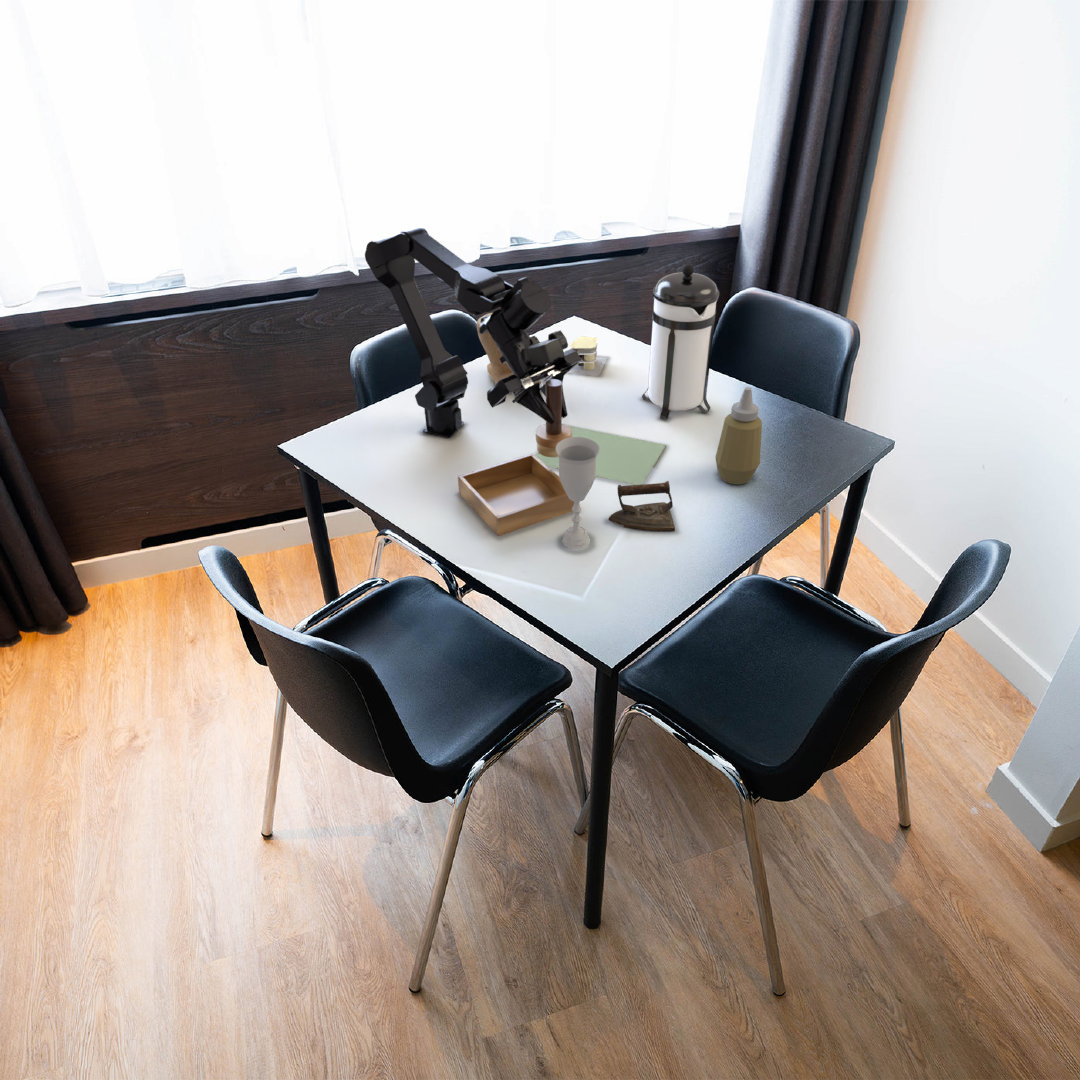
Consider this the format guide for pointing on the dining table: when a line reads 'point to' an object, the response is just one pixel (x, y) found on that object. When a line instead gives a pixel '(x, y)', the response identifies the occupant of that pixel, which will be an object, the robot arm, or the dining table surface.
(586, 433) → the mat
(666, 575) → the dining table surface
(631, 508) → the clothes iron
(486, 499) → the tray
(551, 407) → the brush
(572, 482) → the chalice
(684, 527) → the dining table surface
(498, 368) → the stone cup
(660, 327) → the coffee press
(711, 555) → the dining table surface
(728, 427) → the squeeze bottle
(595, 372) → the stacked layers on plate
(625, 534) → the dining table surface
